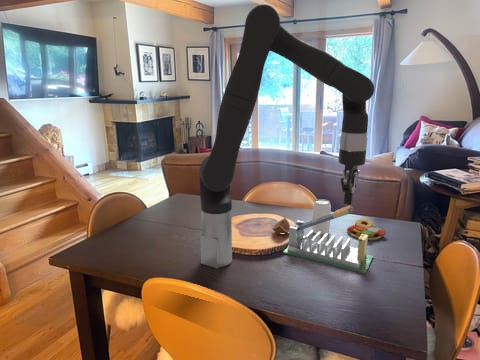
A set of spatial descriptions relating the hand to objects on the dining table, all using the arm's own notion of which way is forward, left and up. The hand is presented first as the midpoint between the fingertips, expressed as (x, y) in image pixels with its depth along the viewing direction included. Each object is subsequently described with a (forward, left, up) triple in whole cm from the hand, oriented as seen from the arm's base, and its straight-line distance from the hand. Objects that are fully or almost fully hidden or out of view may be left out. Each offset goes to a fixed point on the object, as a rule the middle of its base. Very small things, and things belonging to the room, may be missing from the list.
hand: (348, 203), depth 108 cm
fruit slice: (+8, +25, -19) cm, 32 cm away
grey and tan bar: (0, +7, -8) cm, 11 cm away
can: (+17, +13, -19) cm, 28 cm away
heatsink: (0, +5, -19) cm, 19 cm away
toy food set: (+24, -2, -19) cm, 31 cm away
